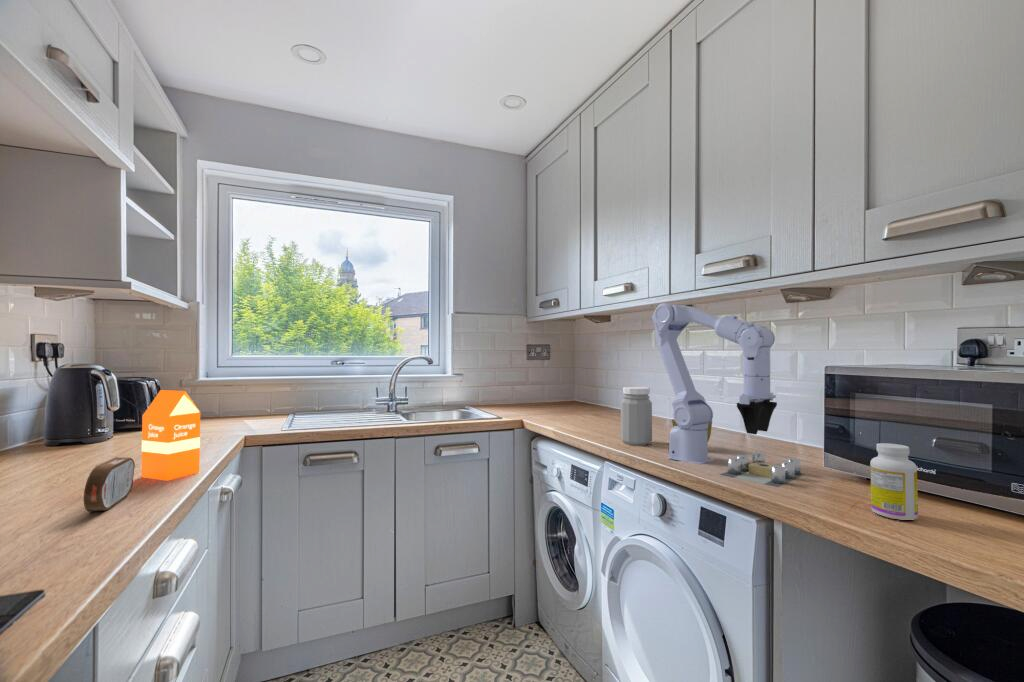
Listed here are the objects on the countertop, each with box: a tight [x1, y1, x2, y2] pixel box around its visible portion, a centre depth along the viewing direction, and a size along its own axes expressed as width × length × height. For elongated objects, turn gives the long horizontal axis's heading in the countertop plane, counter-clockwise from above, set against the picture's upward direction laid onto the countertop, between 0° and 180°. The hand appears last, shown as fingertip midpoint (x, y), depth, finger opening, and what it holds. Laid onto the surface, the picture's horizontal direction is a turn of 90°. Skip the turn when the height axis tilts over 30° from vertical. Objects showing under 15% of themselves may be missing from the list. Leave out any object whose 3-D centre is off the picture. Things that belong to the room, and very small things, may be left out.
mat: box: [719, 469, 806, 488], centre depth 111 cm, size 13×17×1 cm
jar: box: [620, 386, 653, 446], centre depth 150 cm, size 10×10×18 cm
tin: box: [83, 456, 136, 513], centre depth 89 cm, size 15×3×8 cm, turn 21°
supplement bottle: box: [869, 442, 919, 519], centre depth 85 cm, size 7×7×13 cm
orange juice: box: [140, 389, 201, 481], centre depth 110 cm, size 8×9×20 cm
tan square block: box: [748, 462, 774, 478], centre depth 111 cm, size 5×5×2 cm
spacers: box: [727, 451, 802, 485], centre depth 112 cm, size 13×14×4 cm
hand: (757, 432), depth 112 cm, fingers open, 5 cm apart
